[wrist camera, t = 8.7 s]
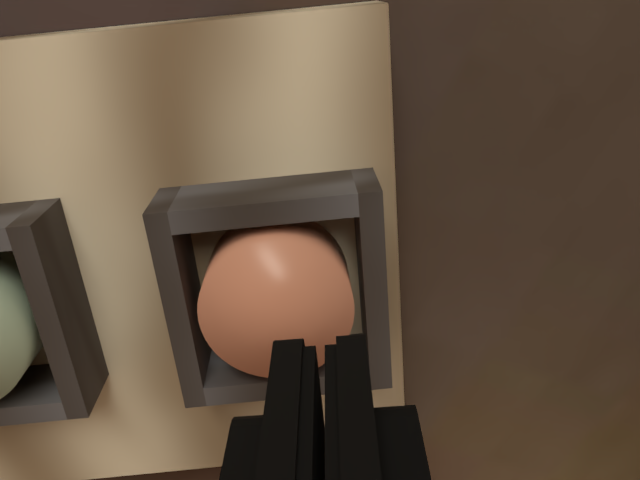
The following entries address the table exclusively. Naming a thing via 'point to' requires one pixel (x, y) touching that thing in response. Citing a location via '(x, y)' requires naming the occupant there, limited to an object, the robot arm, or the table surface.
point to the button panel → (181, 218)
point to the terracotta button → (274, 293)
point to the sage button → (15, 326)
